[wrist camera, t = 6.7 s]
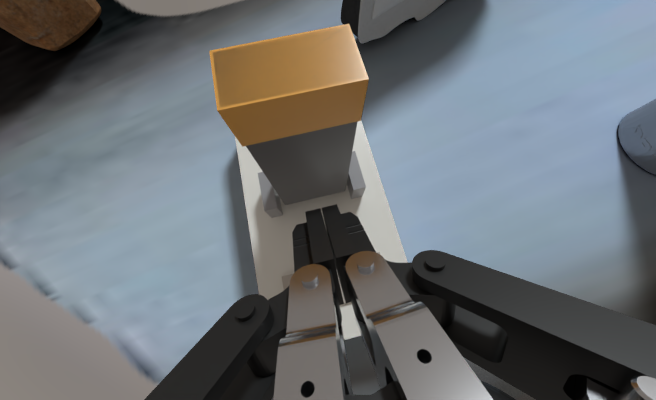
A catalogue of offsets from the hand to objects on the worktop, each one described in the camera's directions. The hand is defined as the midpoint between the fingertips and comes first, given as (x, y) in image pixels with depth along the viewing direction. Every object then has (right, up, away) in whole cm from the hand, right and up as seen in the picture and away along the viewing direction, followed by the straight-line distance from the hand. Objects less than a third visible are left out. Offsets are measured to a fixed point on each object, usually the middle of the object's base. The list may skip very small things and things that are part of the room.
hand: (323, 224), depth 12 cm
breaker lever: (-1, +2, +10) cm, 10 cm away
